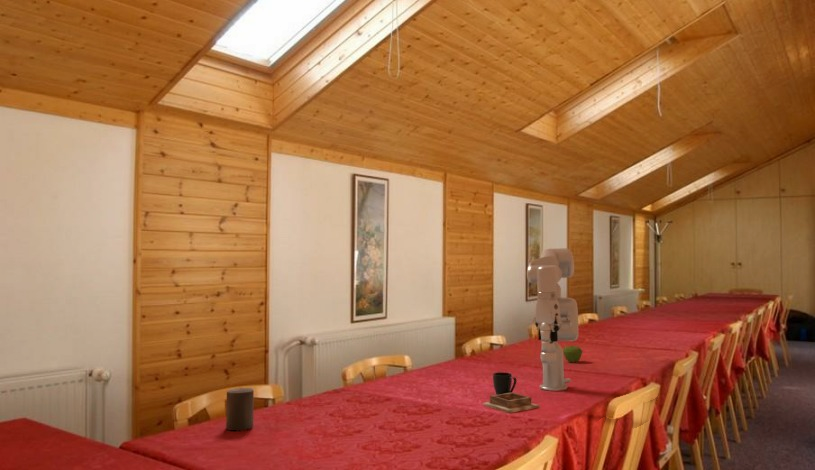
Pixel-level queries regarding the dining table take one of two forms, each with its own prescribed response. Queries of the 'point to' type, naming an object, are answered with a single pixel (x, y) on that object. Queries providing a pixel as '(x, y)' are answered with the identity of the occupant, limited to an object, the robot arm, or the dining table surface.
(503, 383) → the mug
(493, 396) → the bottle stand
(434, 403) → the dining table surface
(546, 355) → the plastic bottle
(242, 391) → the dark grey cylinder
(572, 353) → the apple
